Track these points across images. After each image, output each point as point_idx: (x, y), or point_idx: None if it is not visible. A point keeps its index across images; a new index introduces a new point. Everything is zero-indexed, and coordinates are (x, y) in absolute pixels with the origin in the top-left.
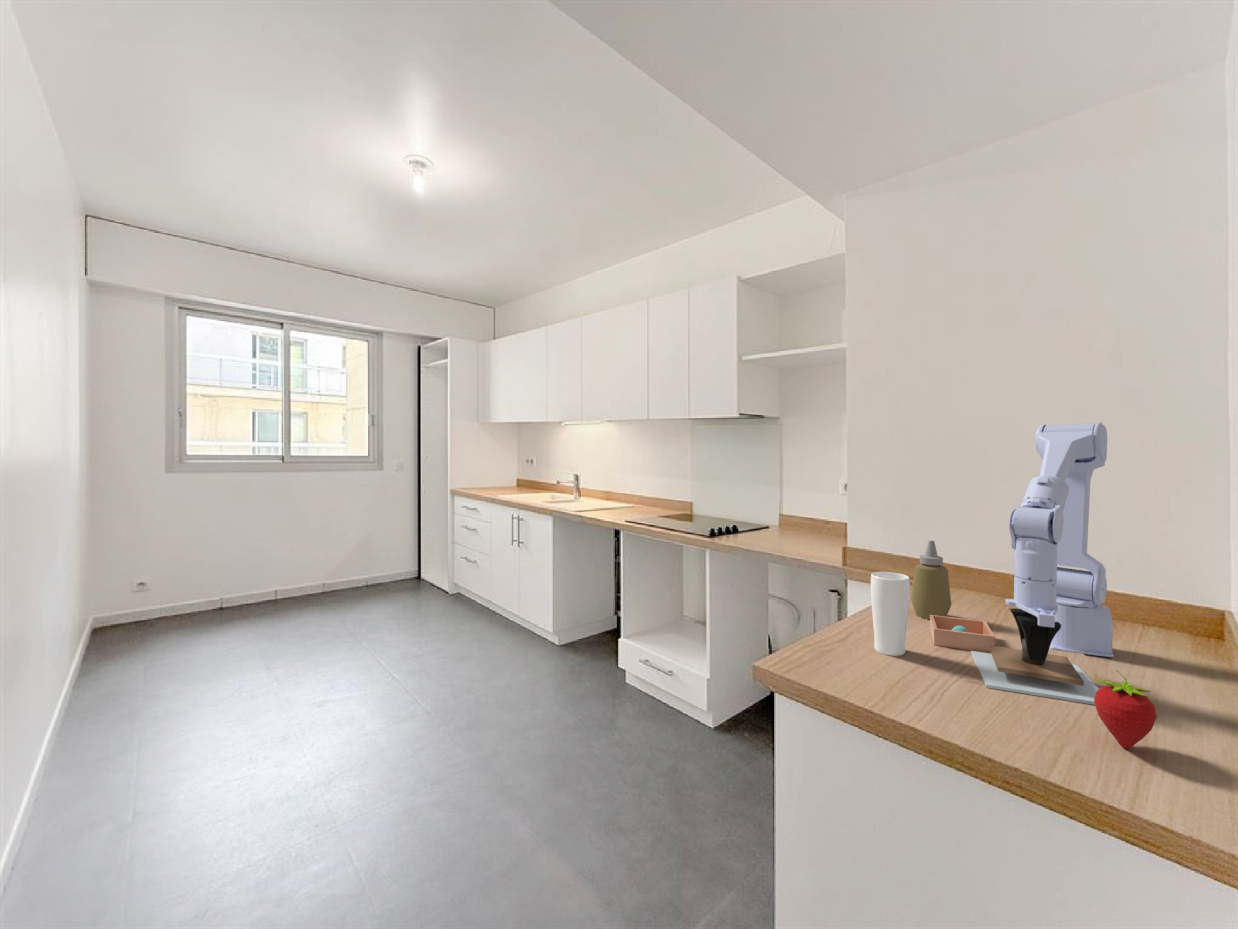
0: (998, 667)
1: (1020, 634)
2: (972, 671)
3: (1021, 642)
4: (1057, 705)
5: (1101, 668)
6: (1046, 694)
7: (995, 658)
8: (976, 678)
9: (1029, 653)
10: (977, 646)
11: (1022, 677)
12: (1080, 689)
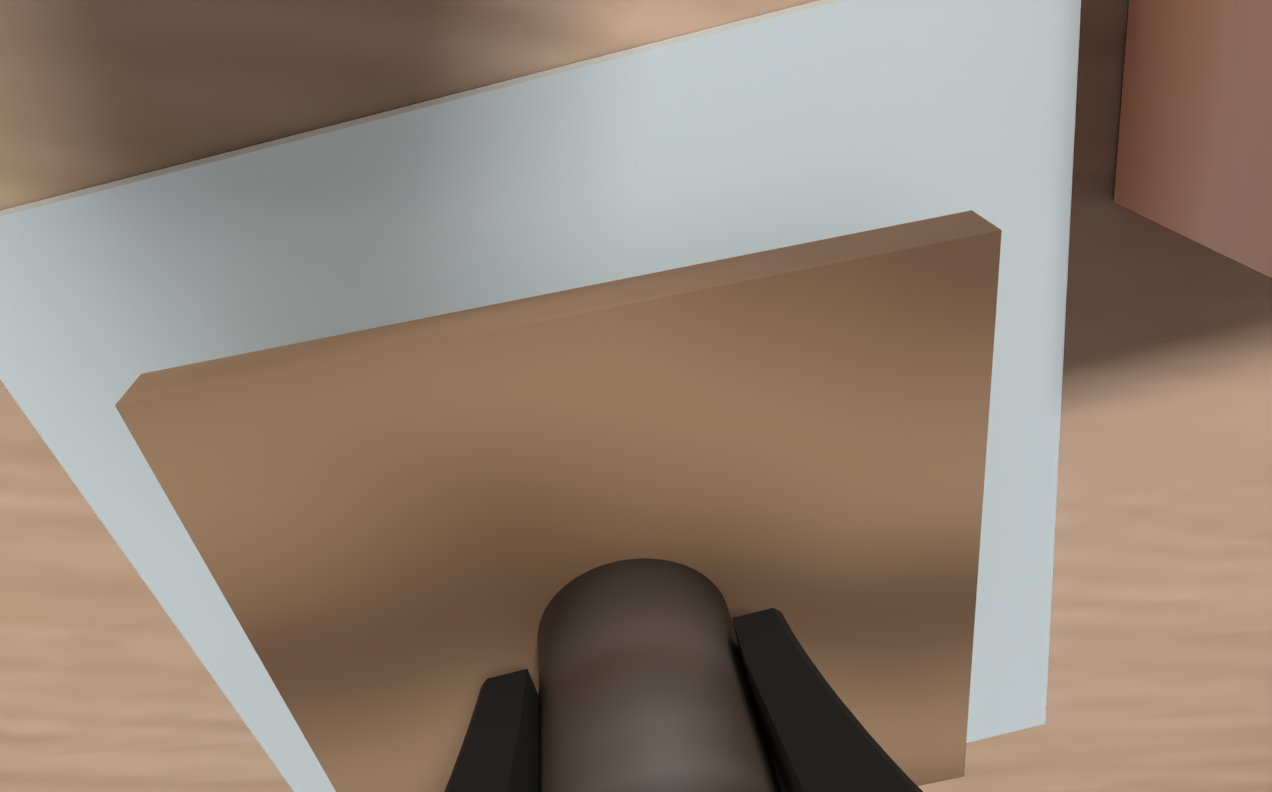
0: (117, 406)
1: (807, 775)
2: (359, 33)
3: (796, 672)
4: (98, 686)
5: (1094, 784)
6: (192, 647)
7: (443, 347)
8: (141, 103)
9: (469, 740)
10: (1185, 24)
11: None
12: None
